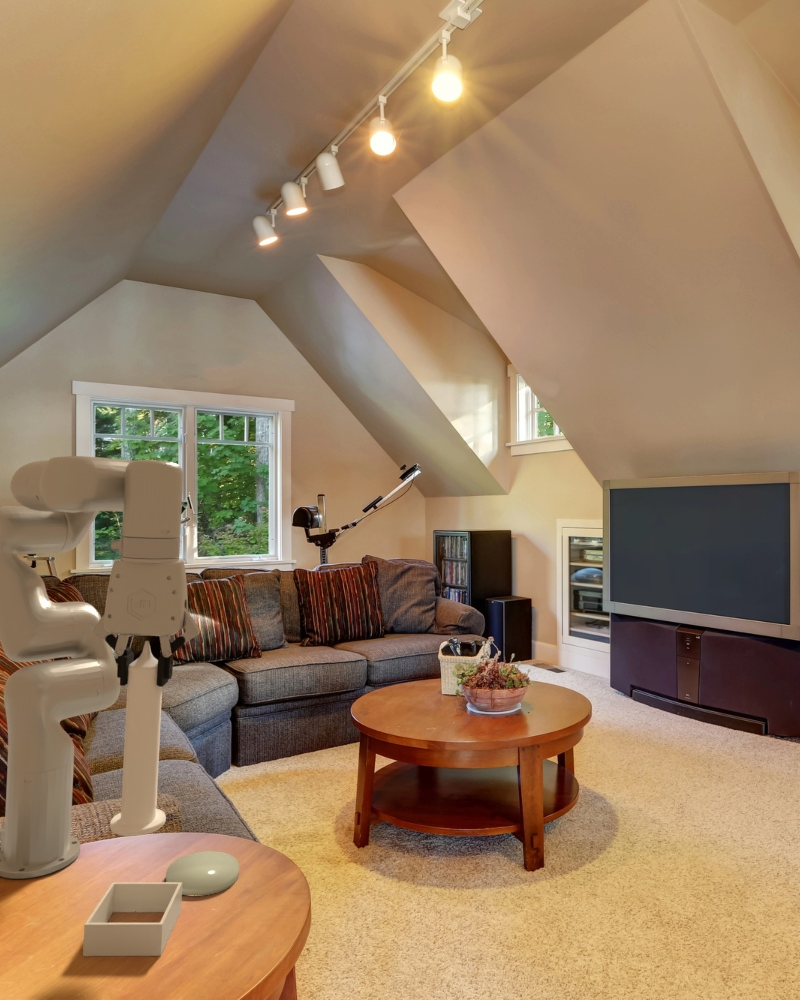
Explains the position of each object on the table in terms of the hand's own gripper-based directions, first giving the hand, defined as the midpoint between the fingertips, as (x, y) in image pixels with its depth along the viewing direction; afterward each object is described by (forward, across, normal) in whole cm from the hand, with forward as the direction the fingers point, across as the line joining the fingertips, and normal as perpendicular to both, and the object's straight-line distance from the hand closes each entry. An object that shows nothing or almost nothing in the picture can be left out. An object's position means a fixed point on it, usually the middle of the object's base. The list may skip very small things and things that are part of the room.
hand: (144, 682), depth 91 cm
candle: (+20, 0, 0) cm, 20 cm away
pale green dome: (+34, +6, +14) cm, 37 cm away
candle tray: (+34, 0, 0) cm, 34 cm away
